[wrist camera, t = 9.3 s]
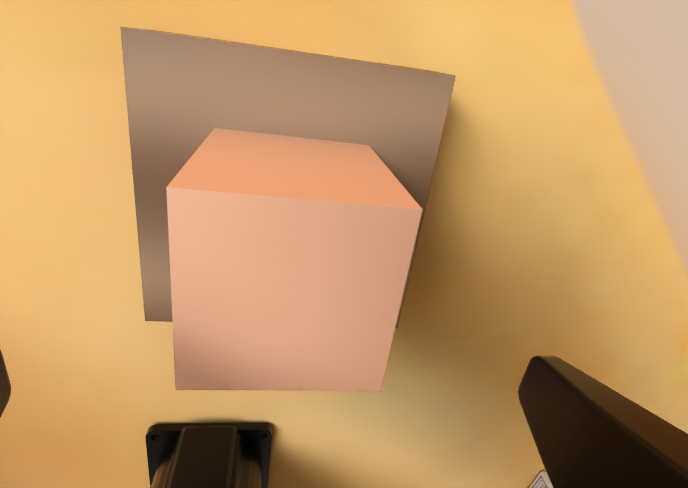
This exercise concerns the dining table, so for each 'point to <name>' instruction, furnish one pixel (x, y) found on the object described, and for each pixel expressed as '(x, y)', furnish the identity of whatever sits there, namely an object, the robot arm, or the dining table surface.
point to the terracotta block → (286, 263)
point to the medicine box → (542, 481)
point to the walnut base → (264, 120)
